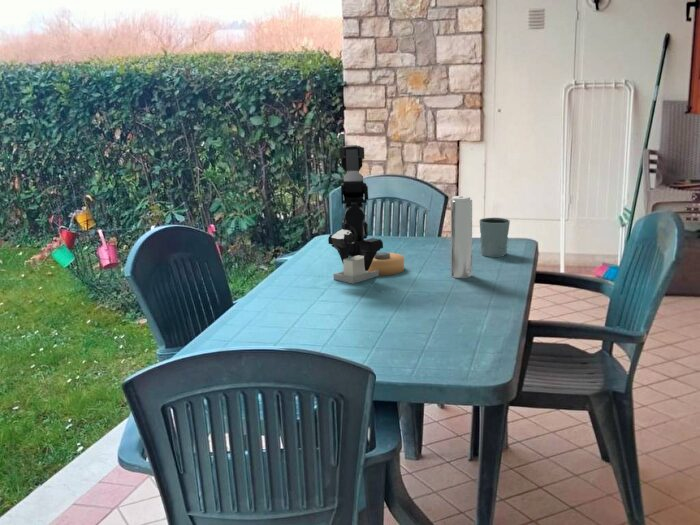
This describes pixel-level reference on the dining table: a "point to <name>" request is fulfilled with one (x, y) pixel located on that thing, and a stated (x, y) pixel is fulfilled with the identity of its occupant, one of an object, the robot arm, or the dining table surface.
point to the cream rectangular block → (354, 266)
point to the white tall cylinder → (461, 237)
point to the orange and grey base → (377, 268)
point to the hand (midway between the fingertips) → (355, 268)
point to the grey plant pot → (494, 236)
